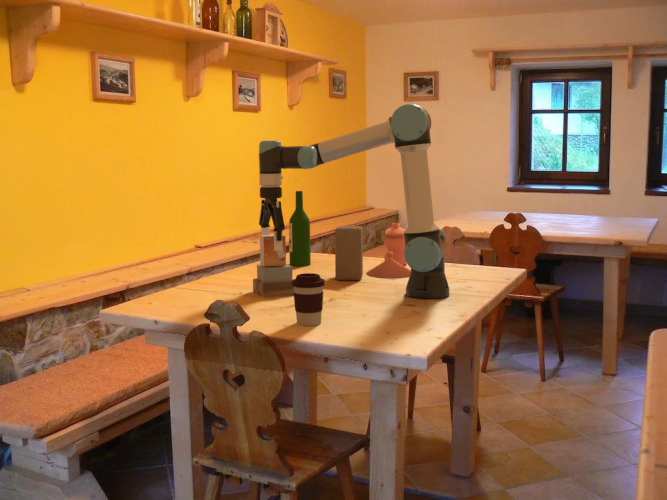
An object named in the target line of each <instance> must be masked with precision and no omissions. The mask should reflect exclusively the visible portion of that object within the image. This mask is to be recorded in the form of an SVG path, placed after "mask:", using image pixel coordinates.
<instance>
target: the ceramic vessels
mask: <svg viewBox="0 0 667 500" xmlns="http://www.w3.org/2000/svg"><path fill="white" fill-rule="evenodd" d="M405 230H406V229H405V228H403V227H401V223H399V222H392V227H389V228H387V229H386V230H385V233H384V234H385V235H386V238H385V239H384V242H383V243H384V246H385V248H386V249H387V251H386V252H385V253H384V261H383V262H381V263H380V264H378V265H376V266H375V267H373V268H371V269H369V270H368V271H367V272H366V273H365V274H366V276H368V277H370V278H376V279H383V280H384V279H386V280H387V279H388V280H391V279H392V280H393V279H394V280H398V279H405V278H406V279H407V278H409V277H410V274H411V269H409V268H408V267H407V266H405V265H406V264H407V263H406V260H405V257H404V250H405V238H404V231H405Z"/></svg>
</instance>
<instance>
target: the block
mask: <svg viewBox="0 0 667 500" xmlns="http://www.w3.org/2000/svg"><path fill="white" fill-rule="evenodd" d="M363 229H364V228H363V226H361V225H339V226H337V227H336V228H335V230H334V253H335V255H334V262H335V263H334V265H335V269H334V270H335V271H334V273H335V275H334V276H335V277H334V278H335V280H337V281H361V280H362V278H363V275H364V271H363V270H364V258H363V257H364V255H363V252H364V249H363V248H364V245H363V243H364V240H363V236H364V235H363V234H364V233H363Z"/></svg>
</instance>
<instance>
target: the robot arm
mask: <svg viewBox="0 0 667 500" xmlns="http://www.w3.org/2000/svg"><path fill="white" fill-rule="evenodd" d="M431 127H432V119H431V116H430V114H429V112H428V111H427V109H425V108H424V107H422V106H421V105H419V104H418V103H405V104H403V105H400V106H399V107H397V108H396V109H395V110H394V112H393V113H392V115H391V116H390V117H388V118H387V120H386V121H383V122H381V123H378V124H374V125H371V126H368V127H365V128H361V129H359V130H358V129H357V130H354V131H352V132H349V133H346V134H343V135H339V136H336V137H333V138H330V139H327V140H323V141H320V142H317V143H314V144H309V145H292V146H286V145H285V146H283V145H282V141H280V140H261V141H260V142H259V144H258V145H259V146H258V165H259V167H258V168H259V173H258V178H259V179H258V180H259V183H258V184H259V185H260V187H259V197H260V198H261V201H260V202H261V206H260V214H259V220H258V225H259V226H260V228H261V231H260V232H261V235H263V236H264V235H270V228H271V226H270V221H272V224H273V230H272V232H273V235H274V251H281V250H283V243H282V235H283V232H284V230H286V226H285V221H284V216H283V210H282V202H281V201H278V199H281V198H282V197H283V188H282V187H281V185H282V180H283V176H282V169H283V170H286V169H290V170H293V169H297V170H299V169H300V170H301V169H303V170H309V169H314V168H316V167H318V166H321V165H324V164H327V163H330V162H335V161H337V160H339V159H340V160H341V159H343V158H346V157H350V156H353V155H357V154H360V153H363V152H367V151H370V150H373V149H376V148H380V147H382V146H385V145H386V146H387V145H390V144H394V148H395V150H396V151H397V152H399V154H400V161H401V162H400V163H401V171H402V180H403V182H402V183H403V191H404V202H405V210H406V220H407V222H406V223H407V227H406V229H405V231H404V238H405V249H404V257H405V260H406V264H407V265H408V266H409V268H410V270H411V274H410V277H408V281H407V283H406V287H405V295H406V296H408V297H412V298H420V299H437V298H438V299H439V298H440V299H441V298H446V297H448V296H450V286H449V283H448V279H447V276H446V273H445V268H446V267H445V264H446V263H445V262H446V261H445V258H446V257H445V256H446V255H445V254H446V249H445V248H446V246H445V245H446V234H445V230H444V229H441V228H440V227H438V225H436V224H435V220H434V219H435V218H434V209H433V200H432V199H433V198H432V188H431V180H430V170H429V159H428V149H429V148H430V147H431V144H432V141H431V140H432V139H431ZM261 235H260V236H261Z"/></svg>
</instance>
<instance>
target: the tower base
mask: <svg viewBox="0 0 667 500" xmlns="http://www.w3.org/2000/svg"><path fill="white" fill-rule="evenodd" d="M292 280H293V278H292ZM252 292H253V293H255V294H256V295H258V296H259V297H262V298H263V299H264V298H275V297H286V296H287V297H288V296H294V287H293V286H292V281H289V282H274V283H263V282H262V281H260V280H258V279H257V277H255V278H252Z"/></svg>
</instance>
